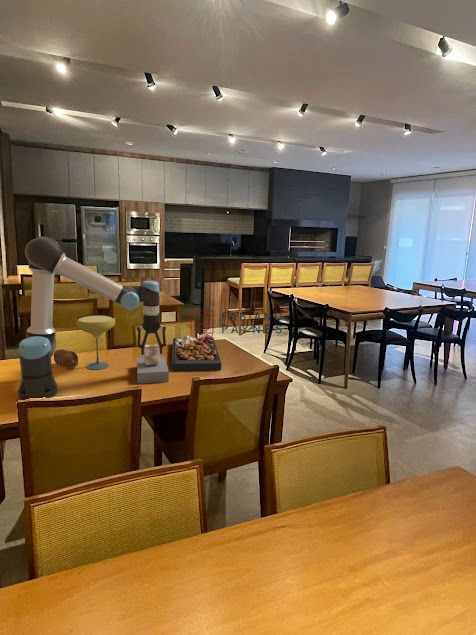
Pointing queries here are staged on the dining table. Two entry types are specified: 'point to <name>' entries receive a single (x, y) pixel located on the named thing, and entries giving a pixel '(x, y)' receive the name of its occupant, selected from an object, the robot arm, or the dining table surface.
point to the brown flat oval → (66, 358)
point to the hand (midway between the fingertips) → (151, 360)
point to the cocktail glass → (96, 332)
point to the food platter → (195, 354)
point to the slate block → (152, 371)
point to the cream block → (152, 354)
